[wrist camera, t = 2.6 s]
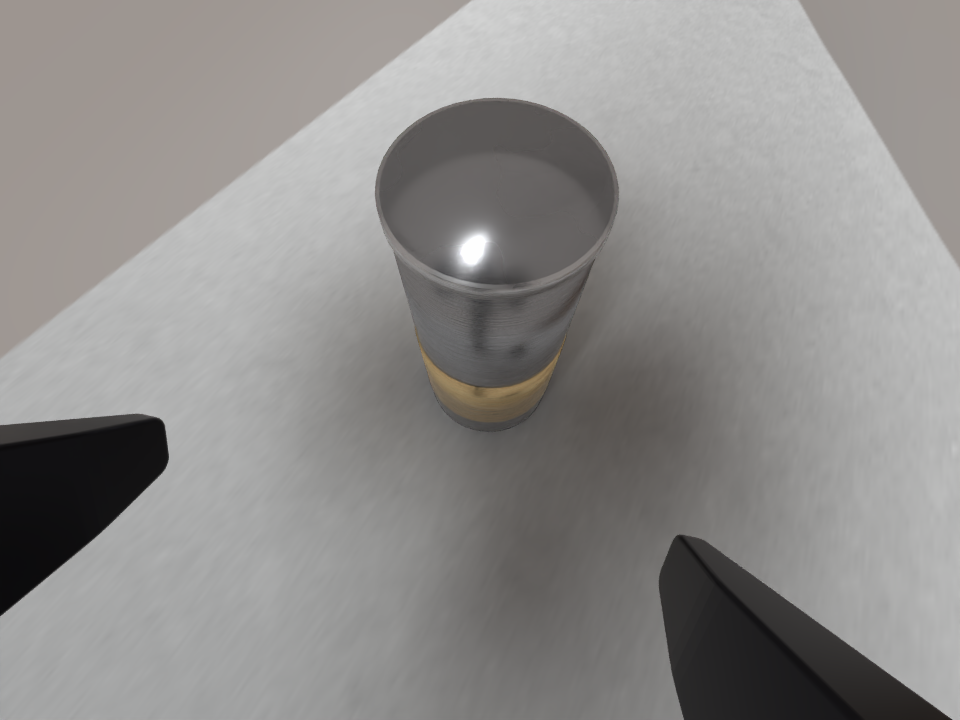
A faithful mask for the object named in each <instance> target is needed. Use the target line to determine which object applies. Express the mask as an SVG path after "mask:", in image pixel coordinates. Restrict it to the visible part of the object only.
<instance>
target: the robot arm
mask: <svg viewBox="0 0 960 720" xmlns="http://www.w3.org/2000/svg"><path fill="white" fill-rule="evenodd" d="M168 460H169V453H168V445H167V438H166V430H165V425H164V423H163V421H162V420H161V419H160V418H157V417H153V416H148V415H144V414H127V415H116V416H104V417H92V418H81V419H69V420H57V421H45V422H34V423H22V424H10V425H0V616H1V615H3V614H4V613H5V612H6V611H7V610H9V609H10V608H11V607H12V606H14V605H15V604H16V603H17V602H18V601H20V600H21V599H22V598H23V597H24V596H26V595H27V594H28V593H29V592H30V591H32V590H33V589H34V588H35V587H36V586H38V585H39V584H40V583H41V582H43V581H44V580H45V579H46V578H47V577H49V576H50V575H51V574H52V573H53V572H55V571H56V570H57V569H58V568H59V567H61V566H62V565H63V564H64V563H66V562H67V561H68V560H69V559H70V558H72V557H73V556H74V555H75V554H76V553H78V552H79V551H80V550H81V549H82V548H84V547H85V546H86V545H87V544H88V543H90V542H91V541H92V540H93V539H94V538H95V537H97V536H98V535H99V534H100V533H101V532H102V531H103V530H104V529H105V528H107V527H108V526H109V525H110V524H111V523H112V522H113V521H114V520H115V519H116V518H117V517H118V516H119V515H120V514H121V513H122V512H123V511H124V510H125V509H126V508H127V507H128V506H129V505H130V504H131V503H132V502H133V501H134V500H135V499H136V498H137V497H138V496H139V495H140V494H141V493H142V492H143V491H144V490H145V489H146V488H147V487H149V486H150V485H151V484H152V483H153V482H154V481H155V480H156V479H157V478H158V477H159V476H160V475H161V474H162V472H163V471H164V470H165V468H166V466H167V464H168ZM659 592H660V598H661V605H662V612H663V618H664V625H665V632H666V638H667V645H668V652H669V658H670V664H671V670H672V675H673V679H674V683H675V687H676V691H677V695H678V699H679V703H680V706H681V710H682V714H683V718H684V720H952V719H951V718H949V717H948V716H947V715H945V714H944V713H942V712H941V711H940V710H938V709H937V708H936V707H934V706H933V705H931V704H930V703H929V702H927V701H926V700H924V699H923V698H922V697H920V696H919V695H918V694H916V693H915V692H913V691H912V690H911V689H909V688H908V687H906V686H905V685H904V684H902V683H901V682H900V681H898V680H897V679H895V678H894V677H893V676H891V675H890V674H888V673H887V672H886V671H884V670H883V669H882V668H880V667H879V666H877V665H876V664H875V663H873V662H872V661H871V660H869V659H868V658H866V657H865V656H864V655H862V654H861V653H859V652H858V651H857V650H855V649H854V648H853V647H851V646H850V645H848V644H847V643H846V642H844V641H843V640H841V639H840V638H839V637H837V636H836V635H835V634H833V633H832V632H830V631H829V630H828V629H826V628H825V627H823V626H822V625H821V624H819V623H818V622H817V621H815V620H814V619H812V618H811V617H810V616H808V615H807V614H805V613H804V612H803V611H801V610H800V609H799V608H797V607H796V606H794V605H793V604H792V603H790V602H789V601H787V600H786V599H785V598H783V597H782V596H781V595H779V594H778V593H776V592H775V591H774V590H772V589H771V588H769V587H768V586H767V585H765V584H764V583H763V582H761V581H760V580H758V579H757V578H756V577H754V576H753V575H751V574H750V573H749V572H747V571H746V570H745V569H743V568H742V567H740V566H739V565H738V564H736V563H735V562H733V561H732V560H731V559H729V558H728V557H727V556H725V555H724V554H722V553H721V552H720V551H718V550H717V549H716V548H714V547H713V546H711V545H710V544H709V543H707V542H706V541H704V540H702V539H700V538H695V537H691V536H686V535H677V536H676V537H675V538H674V539H673V541H672V544H671V546H670V549H669V551H668V554H667V556H666V559H665V561H664V564H663V566H662V569H661V571H660V576H659Z"/></svg>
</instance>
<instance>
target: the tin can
mask: <svg viewBox="0 0 960 720" xmlns="http://www.w3.org/2000/svg"><path fill="white" fill-rule="evenodd" d="M375 199H376V207H377V211H378V214H379V218H380V221H381V225H382V228H383V231H384V234H385V236H386V238H387V240H388V243H389V245H390V246H391V248H392V249H393V251H394V254H395V258H396V261H397V265H398V268H399V272H400V275H401V279H402V282H403V286H404V289H405V293H406V296H407V299H408V303H409V306H410V310H411V313H412V317H413V320H414V324H415V330H416V336H417V339H418V343H419V346H420V349H421V353H422V356H423V360H424V363H425V366H426V370H427V373H428V377H429V380H430V383H431V386H432V388H433V390H434V393H435V396H436V398H437V401H438V403H439V404H440V406H441V408H442V409H443V410H444V411H445V412H446V414H447V415H448V416H450V417H451V418H452V419H453V420H454V421H456V422H457V423H459V424H461V425H463V426H465V427H467V428H470V429H473V430H478V431H486V432H492V431H501V430H505V429H508V428H511V427H513V426H515V425H518V424H519V423H521V422H522V421H524V420H525V419H526V418H527V417H529V416H530V415H531V414H532V412H533V411H534V410H535V409H536V407H537V406H538V404H539V402H540V400H541V398H542V396H543V394H544V392H545V390H546V388H547V386H548V383H549V381H550V378H551V376H552V373H553V371H554V368H555V365H556V363H557V360H558V358H559V355H560V353H561V350H562V347H563V345H564V342H565V339H566V334H567V330H568V328H569V325H570V323H571V320H572V317H573V315H574V312H575V310H576V307H577V304H578V302H579V299H580V296H581V294H582V291H583V289H584V286H585V283H586V281H587V278H588V276H589V273H590V270H591V268H592V265H593V262H594V260H595V258H596V256H597V255H598V253H599V252H600V251H601V249H602V247H603V245H604V244H605V242H606V240H607V238H608V235H609V233H610V230H611V228H612V225H613V222H614V219H615V216H616V213H617V208H618V201H619V187H618V181H617V176H616V172H615V170H614V167H613V164H612V162H611V160H610V158H609V156H608V154H607V153H606V151H605V150H604V148H603V147H602V146H601V144H600V143H599V142H598V140H597V139H596V138H595V137H594V136H593V135H592V134H591V133H590V132H589V131H588V130H586V129H585V128H584V127H583V126H581V125H580V124H579V123H577V122H576V121H574V120H573V119H571V118H569V117H568V116H566V115H564V114H562V113H560V112H558V111H556V110H554V109H551V108H548V107H546V106H543V105H540V104H536V103H532V102H528V101H523V100H516V99H506V98H483V99H475V100H468V101H464V102H459V103H455V104H452V105H449V106H446V107H443V108H440V109H438V110H436V111H434V112H431V113H429V114H427V115H426V116H424V117H422V118H421V119H419V120H417V121H416V122H415V123H413V124H412V125H411V126H409V127H408V128H407V129H406V130H405V131H404V132H402V133H401V134H400V135H399V136H398V137H397V139H396V140H395V141H394V142H393V144H392V145H391V146H390V147H389V149H388V151H387V152H386V154H385V156H384V157H383V160H382V162H381V165H380V167H379V170H378V174H377V178H376V186H375Z"/></svg>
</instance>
